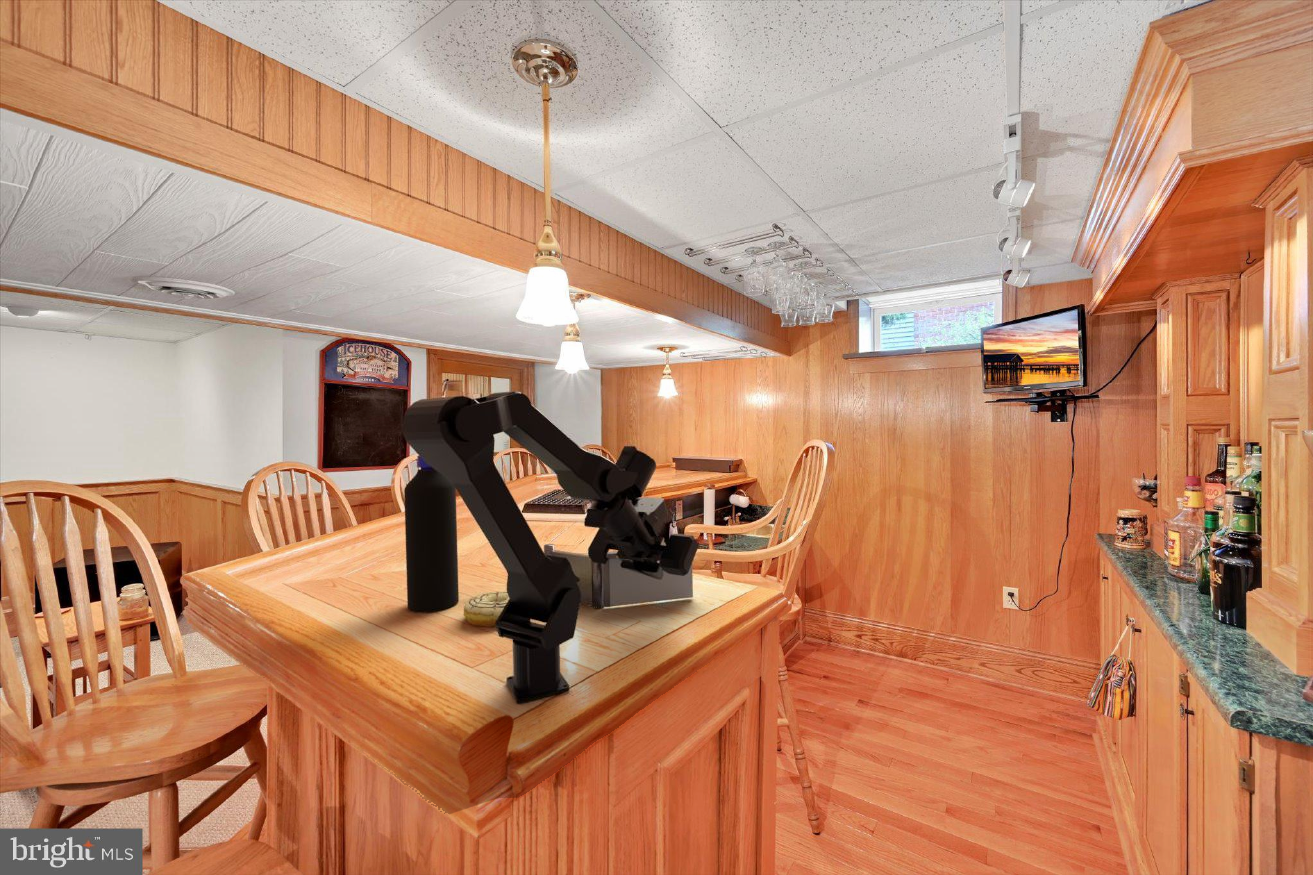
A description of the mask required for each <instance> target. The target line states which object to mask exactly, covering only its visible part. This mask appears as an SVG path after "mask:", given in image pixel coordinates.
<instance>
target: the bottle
mask: <svg viewBox="0 0 1313 875" xmlns="http://www.w3.org/2000/svg"><path fill="white" fill-rule="evenodd" d="M416 458H417V459H416V467H417V468H418V470H417V472H416V474H415V475H414V476H413V477H412V478H411V479H410V480H409V482H408V483H407V484H406V485H405V487H404V489H403V492H404V526H405V527H404V528H405V560H406V561H405V564H406V565H405V566H406V567H405V568H406V596H407V597H406V599H407V602H406V603H407V610H409V611H410V612H412V611H414V612H413V613H418V612H427V613H435V612H439V611H440V610H441V611H443V610H447V609H451V608H452V607H454V606H455V605H457V604H458V603H459V600H460V599H459V597H460V596H459V594H460V593H459V565H458V564H459V563H458V562H459V560H458V558H459V557H458V527H457V526H458V525H457V522H458V521H457V490H456V488H455V486H454V485H453V483H452V482H451V481H450V480H449V479H448V478H446V477H445V476H444V475H442V474H441V473H439V472H438V471H437V470H435V469H434V468H432V467H431V466H430V465H428V464H427V463H426V462H425V461H424V460H423V459H422V458H421V457H420V456H419V455H417V456H416ZM419 468H420V469H419ZM434 611H435V612H434Z"/></svg>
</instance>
